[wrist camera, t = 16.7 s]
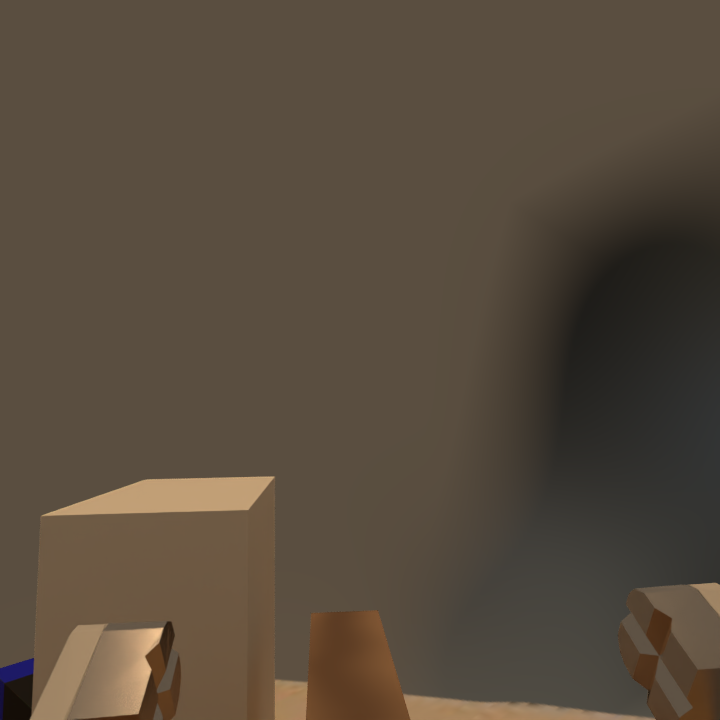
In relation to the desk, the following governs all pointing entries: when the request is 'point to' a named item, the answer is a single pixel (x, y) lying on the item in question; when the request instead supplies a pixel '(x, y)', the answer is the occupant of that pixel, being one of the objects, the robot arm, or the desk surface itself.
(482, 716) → the desk surface
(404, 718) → the walnut bar
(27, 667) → the puzzle toy
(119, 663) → the robot arm
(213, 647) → the tall beige box
